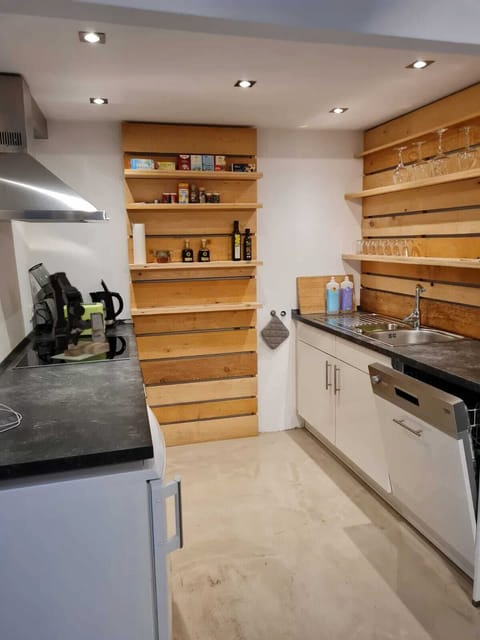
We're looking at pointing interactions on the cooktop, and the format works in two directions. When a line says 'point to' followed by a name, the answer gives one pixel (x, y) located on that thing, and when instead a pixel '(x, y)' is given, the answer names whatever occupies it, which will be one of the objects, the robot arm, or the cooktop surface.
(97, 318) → the coffee box
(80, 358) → the sage mat
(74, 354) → the walnut tile
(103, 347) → the birch riser
